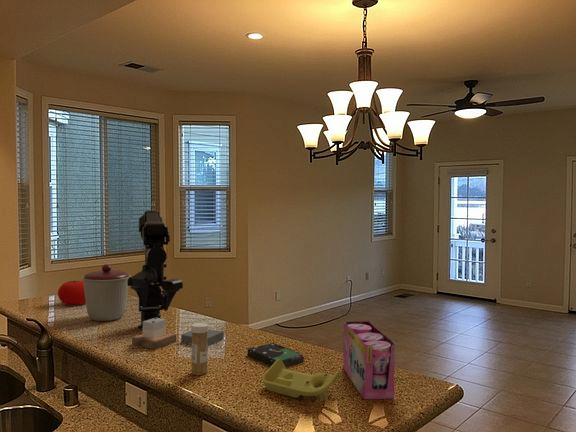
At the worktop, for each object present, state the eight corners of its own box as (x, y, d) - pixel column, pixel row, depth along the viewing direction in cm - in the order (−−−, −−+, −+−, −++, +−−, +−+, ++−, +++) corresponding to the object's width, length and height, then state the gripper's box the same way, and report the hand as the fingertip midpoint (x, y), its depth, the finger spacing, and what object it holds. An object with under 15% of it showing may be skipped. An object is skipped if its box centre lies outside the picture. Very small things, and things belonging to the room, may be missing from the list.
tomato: (86, 299, 227) (86, 276, 227) (97, 304, 218) (97, 280, 217) (53, 303, 218) (53, 280, 217) (63, 309, 208) (63, 284, 208)
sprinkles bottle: (208, 375, 136) (208, 326, 135) (191, 376, 135) (191, 326, 134) (207, 369, 140) (207, 321, 139) (190, 370, 139) (191, 322, 138)
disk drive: (246, 357, 152) (278, 370, 141) (246, 348, 152) (278, 360, 141) (272, 351, 159) (304, 362, 148) (272, 342, 159) (304, 353, 148)
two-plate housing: (155, 332, 167) (155, 316, 167) (165, 334, 165) (165, 318, 165) (142, 336, 162) (142, 320, 161) (153, 338, 160) (153, 322, 159)
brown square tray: (131, 344, 161) (131, 337, 161) (153, 337, 170) (153, 329, 170) (155, 349, 157) (156, 341, 157) (176, 341, 166) (176, 333, 166)
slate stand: (181, 342, 165) (181, 334, 165) (199, 334, 174) (199, 327, 174) (206, 346, 160) (206, 339, 160) (223, 338, 169) (223, 331, 169)
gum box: (397, 401, 120) (398, 345, 120) (365, 402, 119) (366, 346, 119) (368, 367, 144) (369, 320, 144) (341, 367, 143) (342, 321, 143)
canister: (116, 325, 184) (116, 268, 183) (71, 322, 187) (71, 266, 186) (138, 314, 202) (139, 262, 201) (97, 311, 205) (97, 260, 204)
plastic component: (258, 380, 126) (281, 354, 133) (268, 402, 129) (290, 376, 136) (320, 396, 114) (342, 366, 120) (330, 420, 116) (351, 390, 123)
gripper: (114, 262, 159) (114, 310, 160) (160, 266, 151) (160, 317, 152) (139, 258, 169) (139, 304, 170) (183, 262, 161) (183, 310, 162)
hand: (154, 309), depth 163 cm, fingers open, 9 cm apart
